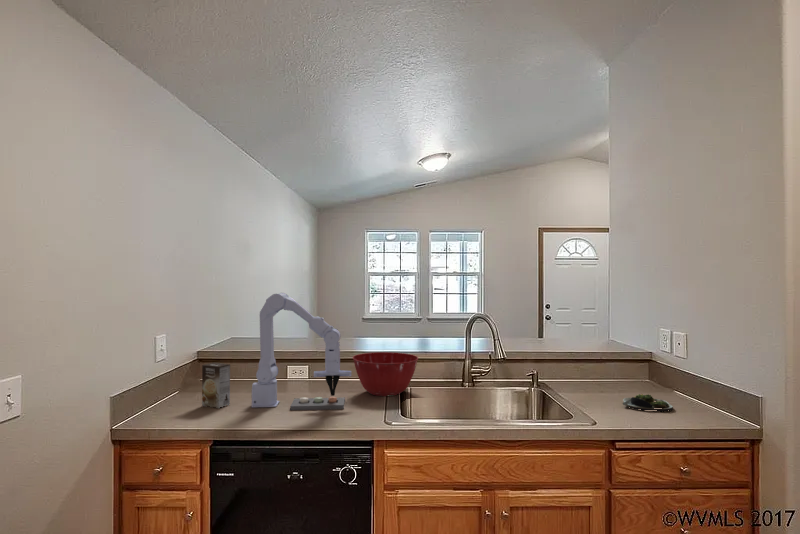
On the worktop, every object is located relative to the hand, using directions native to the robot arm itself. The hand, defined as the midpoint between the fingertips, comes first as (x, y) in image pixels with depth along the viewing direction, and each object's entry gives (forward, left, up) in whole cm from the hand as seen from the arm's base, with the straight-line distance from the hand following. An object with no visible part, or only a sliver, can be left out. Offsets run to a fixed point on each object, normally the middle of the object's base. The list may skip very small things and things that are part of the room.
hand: (332, 395), depth 202 cm
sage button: (-6, 0, -3) cm, 6 cm away
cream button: (-11, 0, -3) cm, 11 cm away
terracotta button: (0, 0, -3) cm, 3 cm away
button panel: (-6, 0, -4) cm, 7 cm away
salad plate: (+120, -11, -5) cm, 121 cm away
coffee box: (-46, +4, -4) cm, 46 cm away
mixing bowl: (+21, +20, -4) cm, 29 cm away
